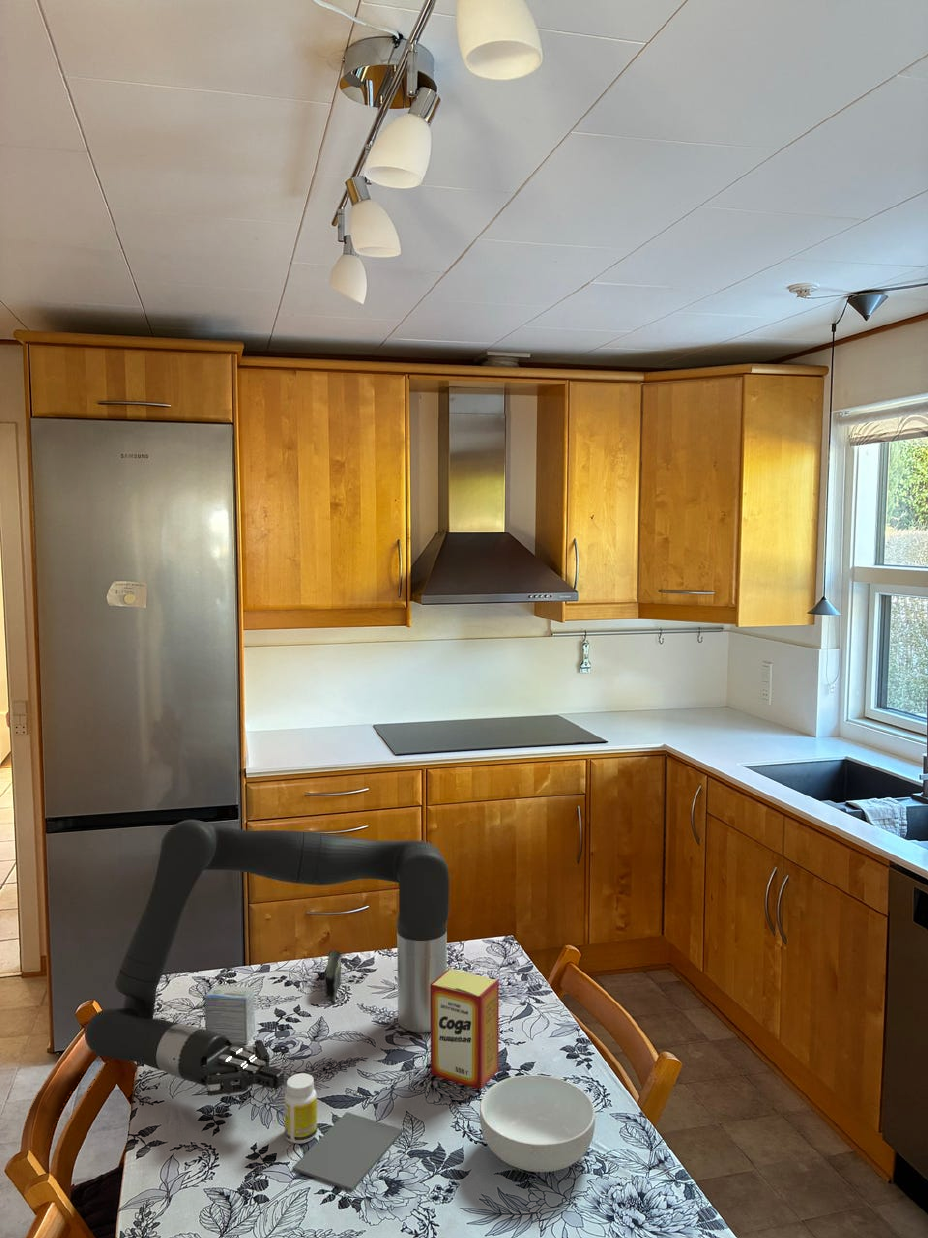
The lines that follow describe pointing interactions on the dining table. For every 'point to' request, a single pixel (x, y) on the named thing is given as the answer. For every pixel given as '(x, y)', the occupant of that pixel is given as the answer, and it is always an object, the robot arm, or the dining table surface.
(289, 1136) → the supplement bottle
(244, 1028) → the medicine box
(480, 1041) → the baking soda box
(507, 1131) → the cereal bowl
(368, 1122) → the mat
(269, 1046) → the dining table surface
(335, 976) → the dark green elongated piece
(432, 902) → the robot arm
